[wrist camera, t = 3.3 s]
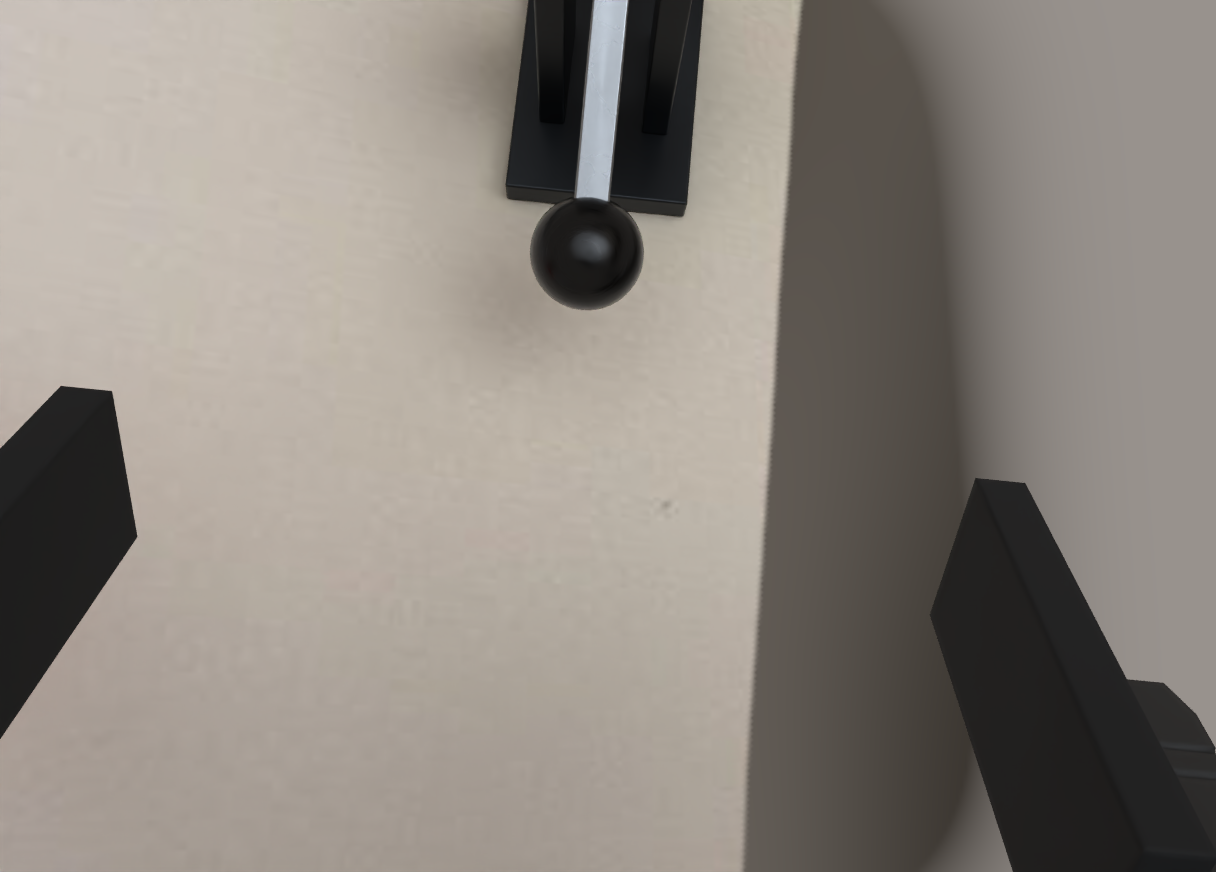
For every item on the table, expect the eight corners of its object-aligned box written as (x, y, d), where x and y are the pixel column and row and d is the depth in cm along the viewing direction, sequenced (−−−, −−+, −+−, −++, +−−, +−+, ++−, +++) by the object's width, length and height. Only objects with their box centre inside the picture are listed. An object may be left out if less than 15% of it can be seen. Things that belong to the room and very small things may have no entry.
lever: (636, 310, 36) (638, 321, 33) (529, 299, 36) (520, 309, 32) (684, -148, 33) (693, -190, 30) (569, -161, 33) (563, -205, 30)
